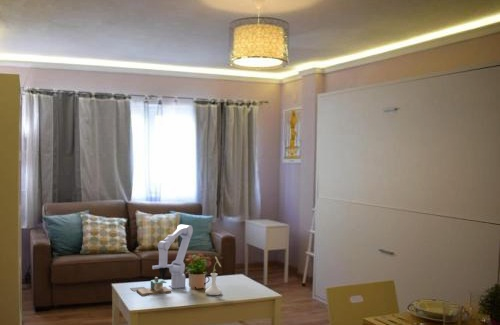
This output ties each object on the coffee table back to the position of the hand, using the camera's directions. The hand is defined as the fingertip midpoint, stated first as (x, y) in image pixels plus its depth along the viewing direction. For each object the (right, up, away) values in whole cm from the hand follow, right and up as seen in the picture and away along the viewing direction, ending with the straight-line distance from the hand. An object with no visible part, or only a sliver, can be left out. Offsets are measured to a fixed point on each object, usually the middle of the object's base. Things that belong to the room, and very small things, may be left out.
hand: (162, 278), depth 348 cm
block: (-3, -8, -1) cm, 9 cm away
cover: (-3, -7, -1) cm, 7 cm away
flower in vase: (+35, -10, -3) cm, 36 cm away
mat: (-17, -8, +4) cm, 20 cm away
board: (-5, -8, -3) cm, 10 cm away
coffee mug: (+25, -9, +11) cm, 29 cm away
